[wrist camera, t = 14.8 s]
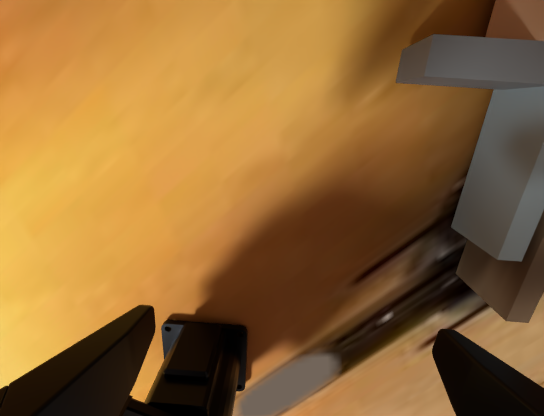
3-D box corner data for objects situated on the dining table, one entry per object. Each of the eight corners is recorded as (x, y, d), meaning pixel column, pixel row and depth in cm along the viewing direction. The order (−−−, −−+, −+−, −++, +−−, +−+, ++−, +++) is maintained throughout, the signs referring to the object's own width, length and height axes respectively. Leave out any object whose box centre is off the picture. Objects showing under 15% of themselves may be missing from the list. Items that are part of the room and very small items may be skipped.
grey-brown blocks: (473, 274, 19) (528, 322, 15) (429, 271, 19) (472, 318, 15) (616, -115, 12) (796, -236, 8) (546, -119, 12) (689, -242, 8)
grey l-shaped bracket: (469, 228, 17) (521, 261, 14) (364, 221, 17) (386, 251, 14) (526, 60, 14) (615, 43, 10) (396, 52, 14) (437, 32, 10)
